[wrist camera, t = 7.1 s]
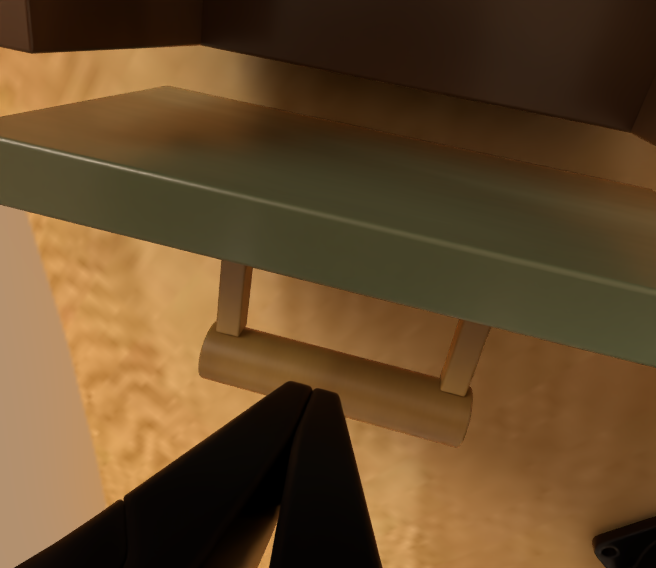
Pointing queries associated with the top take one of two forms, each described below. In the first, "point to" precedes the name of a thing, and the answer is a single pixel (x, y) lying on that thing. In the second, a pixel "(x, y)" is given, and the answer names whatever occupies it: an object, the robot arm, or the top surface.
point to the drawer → (363, 179)
